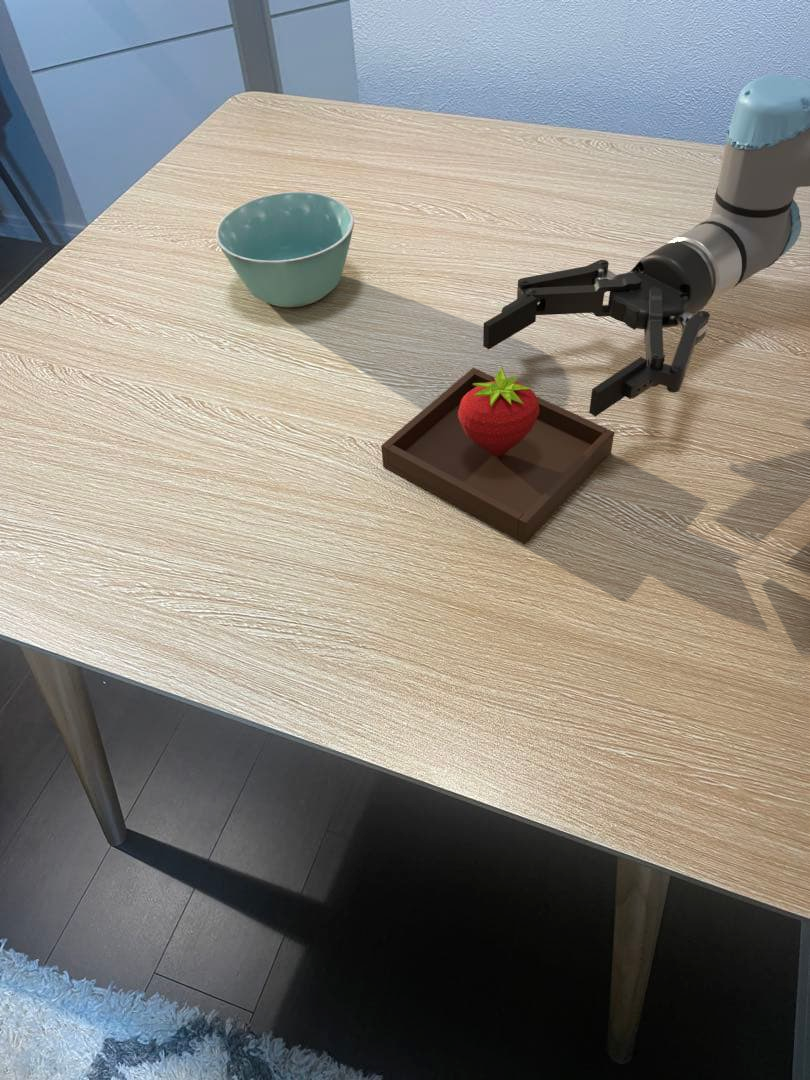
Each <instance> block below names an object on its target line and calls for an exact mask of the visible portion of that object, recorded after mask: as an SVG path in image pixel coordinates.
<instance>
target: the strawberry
mask: <svg viewBox="0 0 810 1080" xmlns="http://www.w3.org/2000/svg"><path fill="white" fill-rule="evenodd" d="M499 366H500V369H499V370H498V372H496V374H495V376H494V377H495V381H492V382H487V383H473V385H475V386H477V387H475V388H474V389H472V390H471V391H469V392H468V393H467V394H466V395H465V396H464V397H463V398H462V400H461V403H460V407H459V411H458V418H459V420H460V423H461V425H462V427H463V430H464V432H465V434H466V435H467V436H468V437H469V438H471V439H472V440H473V441H474V442H475V443H476V444H477V445H478V446H480V447H481V448H483V449H485V450H486V451H488V452H489V453H490V454H491V455H493V456H502V455H504V454H505V453H507V452H508V451H509V450H510V449H511V448H513V447H514V446H516V445H517V444H518V443H519V442H520V441H521V440H522V439H523V438H524V437H525V436H526V435H527V434H528V433H529V432H530V431H531V430H532V428H533V426H534V423H535V421H536V419H537V417H538V415H539V405H538V400H537V397H538V396H537V394H536V392H534V391H533V390H532V387H530V386H529V387H528V386H526V385H524V384H522V383H520V382H516V381H517V380H518V378H519V376H513V377H507V375H506V373H505V370H504V367H503V364H501V363H500V364H499Z"/></svg>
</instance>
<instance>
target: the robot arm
mask: <svg viewBox="0 0 810 1080" xmlns="http://www.w3.org/2000/svg"><path fill="white" fill-rule="evenodd" d="M724 146H725V147H724V151H723V156H722V161H721V165H720V166H721V167H720V170H719V171H720V172H719V176H718V181H717V186H716V190H715V195H714V198H713V201H712V202H713V203H712V207H711V212H710V215H709V217H708V218H706V219H705V220H703V221H702V222H700V223H698V224H697V225H695V226H693V227H692V228H691V229H689V230H687V231H686V232H684V233H683V234H680V235H678V236H676V237H675V238H673V239H671V240H670V241H668V242H667V243H666V244H664V245H662V246H660V247H658V248H657V249H655V250H654V251H651V252H650V253H648V254H647V255H645V256H643V257H642V258H641V259H640V260H639V261H638V262H637V263H636V264H635V265H634V267H633V268H632V269H631V270H630V271H627V272H623V273H619V274H615V272H613V271H611V270H609V266H610V265H609V264H610V263H609V261H608V260H606V259H599V260H597V261H594V262H592V263H589V264H587V265H584V266H579V267H574V268H569V269H564V270H557V271H551V272H547V273H542V274H536V275H532V276H527V277H521V278H519V279H518V280H517V288H516V289H517V290H516V291H517V292H516V299H515V300H513V301H512V302H509V303H508V304H506V305H505V306H503V307H502V308H501V312H500V313H498V314H497V315H495V316H493V317H492V318H490V319H488V320H486V321H485V322H483V331H482V332H483V336H482V339H483V340H482V347H483V348H485V349H487V350H491V349H492V348H494V347H496V346H498V345H499V344H501V343H502V342H504V341H505V340H506V341H507V339H509V338H511V337H512V336H514V335H515V334H516V335H517V334H518V333H519V332H521V331H523V330H524V329H526V328H527V327H529V326H531V325H533V324H534V323H536V322H537V316H549V315H551V316H552V315H554V316H555V315H575V314H593V315H594V316H595V317H598V318H599V317H600V318H601V317H610V318H612V319H614V320H616V321H619V322H620V323H621V322H622V323H624V324H625V325H626V326H627V327H629V328H630V329H632V330H633V331H635V330H644V331H643V334H644V336H643V337H644V344H645V347H644V348H645V358H644V357H643V356H640V357H638V358H637V359H635V360H633V361H632V362H631V363H629V364H628V365H626V366H625V367H623V368H621V369H620V370H619V371H616V372H615V373H614V374H612V375H611V376H609V377H608V378H606V379H605V380H603V381H602V382H600V383H598V384H597V385H596V386H594V387H593V388H592V389H591V396H590V403H589V411H588V413H589V414H590V415H592V416H594V417H597V416H599V415H600V414H602V413H603V412H605V411H606V410H607V409H609V408H610V407H612V406H613V405H615V404H616V403H618V402H619V401H621V400H622V399H624V398H625V397H626V398H627V399H628V400H632V399H634V398H635V399H636V398H637V397H638V396H640V395H641V394H643V393H644V392H645V391H648V389H650V388H652V387H658V386H659V385H660V386H664V387H666V390H667V391H668V392H669V393H679V391H680V390H681V387H682V385H683V382H684V379H685V376H686V373H687V370H688V367H689V364H690V362H691V360H692V359H691V357H692V356H693V353H694V350H695V346H697V345H698V344H699V343H701V342H702V341H703V339H705V337H706V334H707V329H708V325H709V321H710V318H711V317H710V316H711V314H710V312H708V311H707V310H703V309H704V308H705V307H706V306H709V305H710V304H711V303H713V302H715V301H716V300H718V299H719V298H721V297H722V296H723V295H725V294H726V293H728V292H730V291H731V290H732V289H734V288H736V287H737V286H738V285H739V284H741V283H742V282H745V281H746V280H747V279H749V278H751V277H753V276H754V275H755V274H757V273H759V272H760V271H763V270H765V269H767V268H769V267H770V266H773V265H774V264H775V263H776V262H777V261H778V260H779V259H780V258H781V257H782V256H784V255H785V254H786V253H787V252H789V251H790V250H791V249H792V248H793V247H794V245H796V243H797V241H798V239H799V238H800V234H801V231H802V221H801V215H800V208H799V205H798V203H797V202H796V201H795V199H794V197H795V194H796V192H797V189H798V188H804V187H806V188H807V187H810V81H809V80H808V79H805V78H802V77H798V76H793V77H789V76H786V75H784V74H775V75H774V74H773V75H765V76H762V77H759V78H756V79H753V80H751V81H750V82H749V83H747V84H746V85H745V86H744V87H743V88H742V89H741V91H740V92H739V94H738V97H737V100H736V103H735V105H734V108H733V111H732V115H731V120H730V122H729V126H728V129H727V131H726V141H725V145H724ZM607 292H609V295H608V302H607V304H604V299H605V298H604V297H605V294H606V293H607ZM679 325H680V326H681V327H680V332H681V338H680V339H679V343H678V345H677V348H676V351H675V354H674V356H673V359H672V362H671V364H666V363H665V358H666V354H664V353H665V352H664V332H663V328H675V327H678V326H679Z"/></svg>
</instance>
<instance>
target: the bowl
mask: <svg viewBox="0 0 810 1080" xmlns="http://www.w3.org/2000/svg"><path fill="white" fill-rule="evenodd" d="M354 227H355V217H354V214H353V212H352V210H351V209H350V208H349V206H347V204H345V203H344V202H343V201H341V200H340V199H338V198H335V197H333V196H330V195H328V194H323V193H319V192H312V191H284V192H283V191H282V192H276V193H272V194H271V193H270V194H266V195H262V196H259V197H256V198H253V199H251V200H248V201H246V202H244V203H242V204H240V205H238V206H237V207H235V208H233V209H232V210H231V211H229V212H228V213H227V214H226V215H225V216H224V217H223V218H221V220H220V222H219V223H218V224H217V228H216V231H215V240H216V243H217V244H218V247H220V250H221V251H222V253H223V255H224V257H225V258H226V259H227V261H228V262H229V264H230V265H231V267H232V269H233V270H234V271H235V273H236V275H238V278H239V279H240V280H241V281H242V283H243V284H244V286H245V287H246V288H247V290H248V291H249V293H250V294H251V295H252V296H254V297H255V298H256V299H258V300H259V301H262V302H264V303H266V304H269V305H272V306H275V307H279V308H299V307H300V308H301V307H304V306H308V305H312V304H313V303H316V302H318V301H319V300H322V299H323V298H324V297H325V296H327V295H328V294H329V293H330V292H332V291H333V290H334V289H335V288H336V287H337V286H338V284H339V283H340V280H341V278H342V274H343V271H344V267H345V263H346V259H347V256H348V253H349V249H350V246H351V245H350V244H351V241H352V235H353V231H354Z"/></svg>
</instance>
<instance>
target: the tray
mask: <svg viewBox="0 0 810 1080" xmlns="http://www.w3.org/2000/svg"><path fill="white" fill-rule="evenodd" d="M492 381H495V376H493V375H491V374H489V373H487V372H484V371H483V370H479V369H478V368H475V367H472V368H471V369H469V371H467V372H466V373H465V374H463V376H461V377H460V378H458V380H457V381H455V382H454V383H453V384H452V385H451V386H450V387H448V388H447V389H446V390H445V391H444V392H443V393H441V394H440V395H439V396H438V397H437V398H435V399H434V400H433V401H432V402H431V403H429V404H428V405H427V406H426V407H425V408H423V410H422V411H420V412H419V413H418V414H416V415H415V416H414V417H413V418H412V419H410V421H408V422H407V423H405V424H404V426H402V427H401V428H400V429H398V431H396V432H395V433H393V435H392V436H391V437H389V438H388V439H387V440H386V441H384V443H382V444H381V445H380V448H381V460H382V467H383V468H385V469H386V470H389V471H390V472H392V473H394V474H396V475H397V476H399V477H401V478H403V479H405V480H406V481H409V482H410V483H412V484H415V485H416V486H418V487H419V488H421V489H424V490H425V491H426V492H428V493H431V494H433V495H434V496H435V497H438V498H440V499H441V500H443V501H445V502H447V503H449V504H451V505H453V506H454V507H456V508H458V509H460V510H462V511H463V512H466V513H468V514H469V515H471V516H472V517H474V518H476V519H478V520H480V521H482V522H483V523H485V524H487V525H489V526H491V527H493V528H494V529H496V530H498V531H500V532H502V533H504V534H506V535H508V536H509V537H511V538H513V539H515V540H517V542H520V543H522V544H523V545H526V544H527V543H528V542H529V541H530V539H531V538H533V536H534V535H535V534H536V533H537V532H538V531H539V530H540V529H541V528H542V527H543V526H544V525H545V524H546V523H547V522H548V521H549V519H550V518H551V517H552V516H553V515H554V514H555V513H557V511H558V510H559V509H560V508H561V507H562V506H563V505H564V504H565V502H567V501H568V499H570V497H571V496H572V495H573V494H574V493H575V492H576V491H577V490H578V489H579V488H580V487H581V486H582V484H584V483H585V481H587V479H588V478H589V477H590V476H591V475H593V473H594V472H595V471H596V470H597V469H598V468H599V467H600V466H601V465H602V464H603V463H604V462H605V460H607V458H609V457H610V455H611V454H612V449H613V443H614V437H615V431H613V430H611V429H609V428H607V427H605V426H602V425H601V424H598V423H596V422H594V421H591V420H589V419H587V418H585V417H583V416H581V415H578V414H576V413H574V412H572V411H569V410H567V409H565V408H563V407H561V406H559V405H556V404H554V403H552V402H550V401H548V400H545V399H544V398H541V397H539V396H537V400H538V405H539V415H538V417H537V419H536V421H535V423H534V426H533V428H532V430H531V431H530V432H529V433H528V434H527V435H526V436H525V437H524V438H523V439H522V440H521V441H520V442H519V443H518V444H517V445H516V446H514V447H513V448H511V449H510V450H509V451H508V452H507V453H505V454H504V455H502V456H493V455H491V454H490V453H489V452H488V451H486V450H485V449H483V448H481V447H480V446H478V445H477V444H476V443H475V442H474V441H473V440H472V439H471V438H469V437H468V436H467V435H466V434H465V432H464V430H463V427H462V425H461V423H460V420H459V418H458V411H459V407H460V403H461V400H462V398H463V397H464V396H465V395H466V394H467V393H468V392H469V391H471V390H472V389H474V388H475V387H477V386H475V385H473V383H487V382H492Z"/></svg>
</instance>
